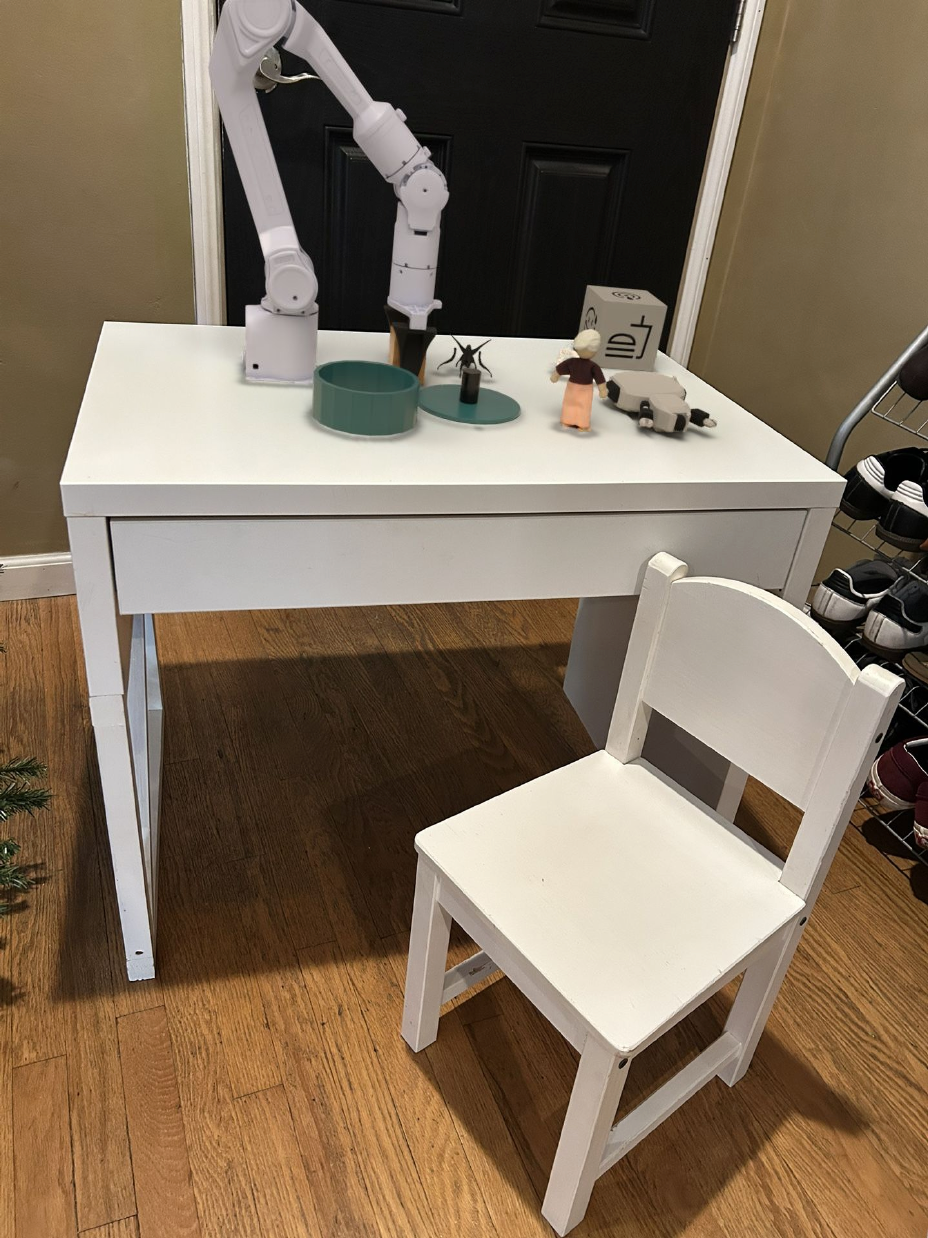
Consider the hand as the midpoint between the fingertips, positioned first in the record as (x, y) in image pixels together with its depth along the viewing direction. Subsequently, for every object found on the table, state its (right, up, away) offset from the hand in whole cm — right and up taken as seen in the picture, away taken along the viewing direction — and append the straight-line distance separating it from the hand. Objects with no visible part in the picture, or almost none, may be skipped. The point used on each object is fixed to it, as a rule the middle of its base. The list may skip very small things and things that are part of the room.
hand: (405, 369), depth 127 cm
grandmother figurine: (+22, -10, -7) cm, 25 cm away
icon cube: (+32, +8, +24) cm, 41 cm away
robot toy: (+33, -7, 0) cm, 34 cm away
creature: (+8, +1, +7) cm, 11 cm away
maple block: (0, -2, +1) cm, 2 cm away
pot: (-4, -10, -13) cm, 17 cm away
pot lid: (+8, -6, -6) cm, 12 cm away
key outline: (+24, +4, +15) cm, 28 cm away
